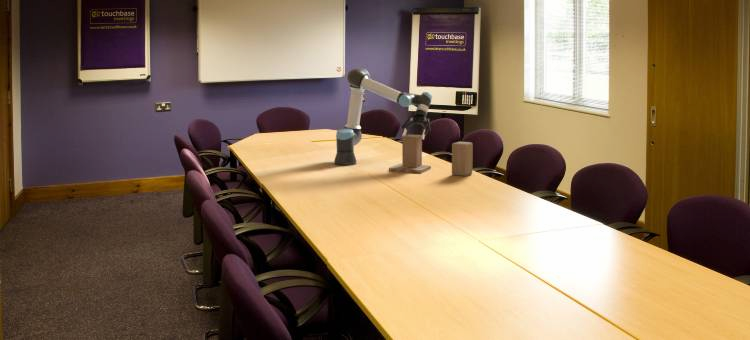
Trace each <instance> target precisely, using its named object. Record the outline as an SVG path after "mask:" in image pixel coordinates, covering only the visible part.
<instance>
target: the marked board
mask: <svg viewBox="0 0 750 340" xmlns="http://www.w3.org/2000/svg"><path fill="white" fill-rule="evenodd" d="M431 169H432V166H431V165H425V164H422V165H421V166H419V167H417V168H413V167H403V166H402V163H398V164H395V165H393V166H391V167H389V168H388V172H395V173H396V172H397V173H408V174H409V173H410V174H411V173H412V174H423V173H425V172H427V171H429V170H431Z"/></svg>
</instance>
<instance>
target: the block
mask: <svg viewBox="0 0 750 340" xmlns="http://www.w3.org/2000/svg"><path fill="white" fill-rule="evenodd" d="M473 145H474V144H473V142H471V141H457V142H453V143H452V144H451V175H453V176H458V175H459V177H467V176H469V175H473V160H474V159H473V156H474V155H473V150H474V149H473Z"/></svg>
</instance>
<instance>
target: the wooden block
mask: <svg viewBox="0 0 750 340" xmlns="http://www.w3.org/2000/svg"><path fill="white" fill-rule="evenodd" d="M401 137H402V136H401ZM401 145H402V149H401V151H402V153H401V154H402V161H401V162H402V163H401V164H402V166H403V167H413V168H417V167H419V166H421V165H423V162H422V160H423V157H422V156H423V139H422V134H406V135H405V136H403V137H402V143H401Z"/></svg>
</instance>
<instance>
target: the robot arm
mask: <svg viewBox="0 0 750 340" xmlns="http://www.w3.org/2000/svg"><path fill="white" fill-rule="evenodd" d="M370 77H371V76H370V72H368V70H367V69H365V68H363V67H357V68H353V69H350V70H349V71H348V72H347V75H346V81H347V82H348V84H349V89H350V90H351V92H350V98H349V106H348V115H347V123H346V124H344V128H342V129H341V128H340V129H338V130H336V135H335V138H336V139H335V140H336V154H335V157H334V160H333V162H334V165H335V166H353V165H356V164H357V157H356V156H355V146H356V145H358V144H359V143H360V142H361V140H362V137H363V136H362V131H361V130H362V127H361V125H360V122H361V115H362V106H363V102H364V101H363V100H364V92H365V91H366V90H367V91H369V92H371V93H374V94H376V95H378V96H380V97H382V98H385V99H387V100H389V101H392V102H394V103H396V104H398V105H400V106H401V107H404V108H406V107H407V108H408V107H409V106H417V107H416V109H415V113H414V115H413V117H411V116H409V117H408V119H407V120H406V121H405V122H404V123H403V124H402V125H401V129H402V135H401V137H403V136H405V135H407V131H408V129H409V128H411V127H413V126H415V125H419V126H420V125H421V126H422V127H423V128H424V129H423V131H422V134H421V135H422V141H423V140H425V137H426V135H428V132H431V131H432V129H431V125H430V118H429V117H427V114H428V112H429V108H430V105H431V103H432V99H433V96H432V94H431V93H430V92H428V91H427V92H426V91H424V92H422V93H421V94H416V93H410V92H401V91H399V90H397V89H395V88H392V87H391V86H388V85H385V84H383V83H381V82H379V81H376V80H373V79H372V78H370ZM425 122H426V124H425ZM426 125H427V126H426Z"/></svg>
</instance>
